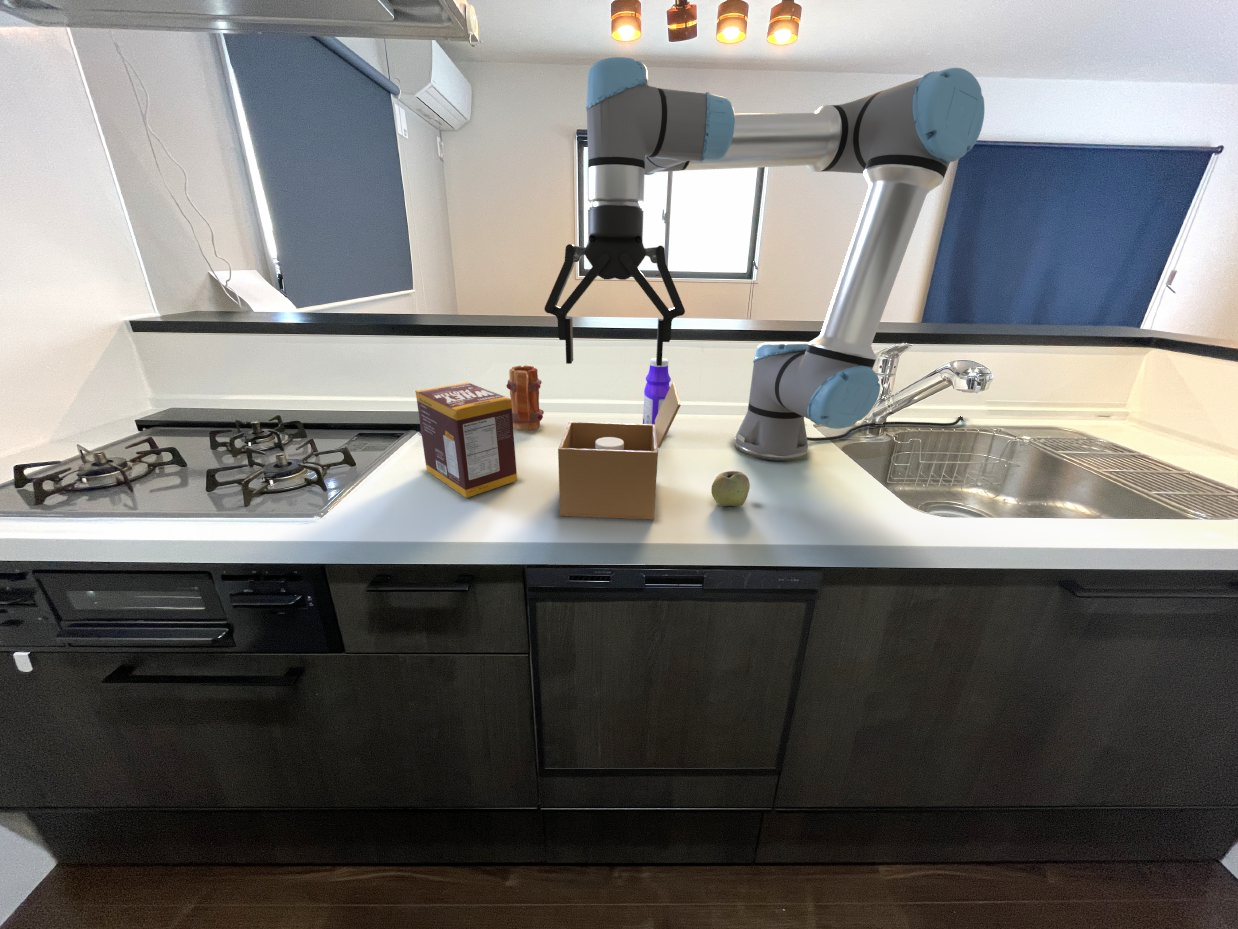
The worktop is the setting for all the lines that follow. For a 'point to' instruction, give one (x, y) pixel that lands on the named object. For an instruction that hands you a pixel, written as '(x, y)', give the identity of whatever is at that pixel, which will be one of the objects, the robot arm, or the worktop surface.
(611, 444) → the pill bottle
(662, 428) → the flap
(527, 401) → the mug
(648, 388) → the bottle
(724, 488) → the apple
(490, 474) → the supplement box
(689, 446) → the worktop surface
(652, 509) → the carton
